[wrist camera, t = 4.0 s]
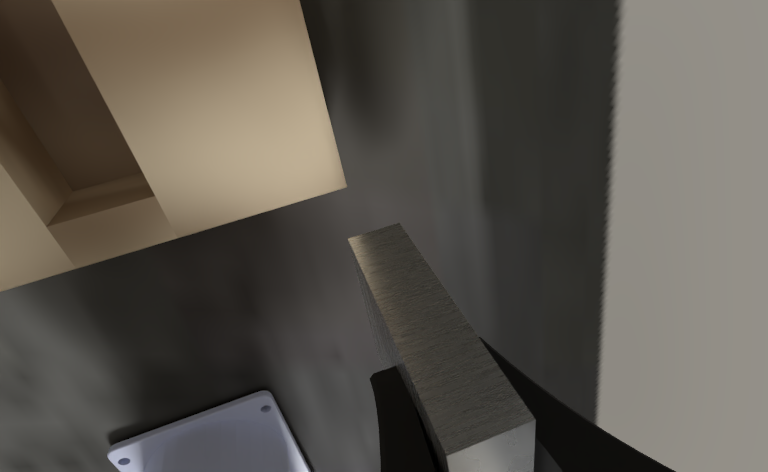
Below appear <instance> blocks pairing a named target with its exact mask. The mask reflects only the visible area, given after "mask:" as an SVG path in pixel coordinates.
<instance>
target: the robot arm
mask: <svg viewBox="0 0 768 472" xmlns="http://www.w3.org/2000/svg"><path fill="white" fill-rule="evenodd" d="M479 338H480V337H479ZM480 340H481V341H482V343H483V344H484V346H485V347H486V349H487V350H488V351H489V353H490V354H491V356H492V357H493V359H494V360H495V362H496V363H497V364H498V366H499V367H500V369H501V370H502V372H503V373H504V375H505V376H506V377H507V379H508V380H509V382H510V383H511V385H512V386H513V388H514V389H515V390H516V392H517V393H518V395H519V396H520V398H521V399H522V401H523V402H524V403H525V405H526V406H527V408H528V409H529V411H530V412H531V414H532V415H533V416H534V418H535V419H536V426H535V451H534V472H676V471H674V470H672V469H670V468H668V467H666V466H664V465H662V464H661V463H659V462H657V461H655V460H653V459H652V458H650V457H648V456H646V455H644V454H643V453H641V452H639V451H637V450H635V449H634V448H632V447H630V446H629V445H627V444H626V443H624V442H622V441H620V440H619V439H617V438H615V437H614V436H612V435H611V434H609V433H607V432H606V431H604V430H602V429H601V428H599V427H598V426H596V425H595V424H593V423H592V422H590V421H589V420H587V419H586V418H584V417H583V416H581V415H580V414H578V413H577V412H575V411H574V410H572V409H571V408H569V407H568V406H567V405H565V404H564V403H562V402H561V401H560V400H558V399H557V398H555V397H554V396H553V395H551V394H550V393H549V392H547V391H546V390H545V389H543V388H542V387H541V386H539V385H538V384H536V383H535V382H534V381H532V380H531V379H530V378H529V377H527V376H526V375H525V374H523V373H522V372H521V371H520V370H518V369H517V368H516V367H515V366H514V365H512V364H511V363H510V362H509V361H507V360H506V359H505V358H504V357H503V356H501V355H500V354H499V353H498V352H497V351H496V350H494V349H493V348H492V347H491V346H490V345H489V344H487V343H486V342H485V341H484V340H483V339H482V338H480ZM370 381H371V384H372V388H373V391H374V396H375V401H376V407H377V415H378V424H379V437H380V456H381V472H436V471H435V468H434V465H433V462H432V459H431V455H430V452H429V449H428V446H427V443H426V440H425V437H424V434H423V431H422V428H421V425H420V422H419V419H418V416H417V413H416V410H415V407H414V404H413V401H412V398H411V396H410V394H409V392H408V390H407V387H406V385H405V383H404V381H403V379H402V377H401V375H400V373H399V371H398V369H397V367H396V366H393V367H391V368H388V369H385V370H382V371H380V372H377V373H374V374H373V375H372V376H371V378H370ZM266 405H268V406H266ZM107 457H108V459H109V460H110V461H111V462H112V463H113V464H114V465H115V466H116V467H117V468H118V469H119V471H120V472H311V470H310V468H309V466H308V464H307V463H306V461H305V459H304V457H303V455H302V453H301V451H300V449H299V447H298V445H297V443H296V441H295V439H294V437H293V435H292V433H291V431H290V429H289V427H288V425H287V423H286V421H285V419H284V417H283V415H282V413H281V411H280V409H279V407H278V405H277V403H276V402H275V400H274V398H273V396H272V394H271V393H270V392H269V391H259V392H256V393H253V394H250V395H248V396H245V397H242V398H239V399H237V400H234V401H231V402H228V403H226V404H223V405H220V406H217V407H215V408H212V409H209V410H206V411H204V412H201V413H198V414H195V415H193V416H190V417H187V418H184V419H182V420H179V421H176V422H173V423H171V424H168V425H165V426H162V427H160V428H157V429H154V430H151V431H149V432H146V433H143V434H140V435H138V436H135V437H132V438H130V439H127V440H124V441H121V442H119V443H116V444H114V445H112V446H111V447H110V448H109V451H108V455H107Z"/></svg>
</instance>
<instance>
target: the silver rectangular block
mask: <svg viewBox="0 0 768 472" xmlns="http://www.w3.org/2000/svg"><path fill="white" fill-rule="evenodd" d="M348 241H349V245H350V249H351V253H352V257H353V261H354V264H355V268H356V272H357V276H358V280H359V284H360V288H361V291H362V295H363V299H364V303H365V307H366V311H367V315H368V318H369V322H370V326H371V330H372V334H373V338H374V341H375V345H376V349H377V353H378V356H379V359H380V361H381V364H382V366H383V369H384V370H385V369H388V368H391V367H393V366H396V367H397V369H398V371H399V373H400V375H401V377H402V379H403V381H404V383H405V385H406V387H407V390H408V392H409V394H410V396H411V398H412V401H413V404H414V407H415V410H416V413H417V416H418V419H419V422H420V425H421V428H422V431H423V434H424V437H425V440H426V443H427V446H428V449H429V452H430V455H431V459H432V462H433V465H434V468H435V471H436V472H534V451H535V426H536V419H535V418H534V416H533V415H532V414H531V412H530V411H529V409H528V408H527V406H526V405H525V403H524V402H523V401H522V399H521V398H520V396H519V395H518V393H517V392H516V390H515V389H514V388H513V386H512V385H511V383H510V382H509V380H508V379H507V377H506V376H505V375H504V373H503V372H502V370H501V369H500V367H499V366H498V364H497V363H496V362H495V360H494V359H493V357H492V356H491V354H490V353H489V351H488V350H487V349H486V347H485V346H484V344H483V343H482V341H481V340H480V338H479V337H478V336H477V334H476V333H475V331H474V330H473V328H472V327H471V325H470V324H469V323H468V321H467V320H466V318H465V317H464V315H463V314H462V312H461V311H460V310H459V308H458V307H457V305H456V304H455V302H454V301H453V299H452V298H451V297H450V295H449V294H448V292H447V291H446V289H445V288H444V286H443V285H442V284H441V282H440V281H439V279H438V278H437V276H436V275H435V273H434V272H433V271H432V269H431V268H430V266H429V265H428V263H427V262H426V261H425V259H424V258H423V256H422V255H421V253H420V252H419V250H418V249H417V248H416V246H415V245H414V243H413V242H412V240H411V239H410V237H409V236H408V235H407V233H406V232H405V230H404V229H403V227H402V226H401V224H400V223H397V224H394V225H390V226H387V227H384V228H381V229H378V230H374V231H371V232H368V233H365V234H362V235H358V236H355V237H352V238H349V239H348Z"/></svg>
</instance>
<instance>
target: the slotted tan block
mask: <svg viewBox="0 0 768 472" xmlns="http://www.w3.org/2000/svg"><path fill="white" fill-rule="evenodd" d="M346 187H347V185H346V181H345V177H344V174H343V170H342V166H341V162H340V158H339V154H338V150H337V146H336V142H335V138H334V134H333V130H332V126H331V122H330V118H329V115H328V111H327V107H326V103H325V99H324V95H323V91H322V87H321V83H320V79H319V75H318V71H317V67H316V63H315V59H314V56H313V52H312V48H311V44H310V40H309V36H308V32H307V28H306V24H305V20H304V16H303V12H302V8H301V4H300V0H0V292H1V291H4V290H7V289H11V288H14V287H17V286H21V285H24V284H27V283H31V282H34V281H37V280H41V279H44V278H47V277H51V276H54V275H57V274H60V273H64V272H67V271H70V270H74V269H77V268H80V267H84V266H87V265H90V264H94V263H97V262H100V261H104V260H107V259H110V258H114V257H117V256H120V255H124V254H127V253H130V252H133V251H137V250H140V249H143V248H147V247H150V246H153V245H157V244H160V243H163V242H167V241H170V240H173V239H177V238H180V237H183V236H187V235H190V234H193V233H197V232H200V231H203V230H206V229H210V228H213V227H216V226H220V225H223V224H226V223H230V222H233V221H236V220H240V219H243V218H246V217H250V216H253V215H256V214H260V213H263V212H266V211H269V210H273V209H276V208H279V207H283V206H286V205H289V204H293V203H296V202H299V201H303V200H306V199H309V198H313V197H316V196H319V195H323V194H326V193H329V192H333V191H336V190H339V189H342V188H346Z"/></svg>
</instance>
